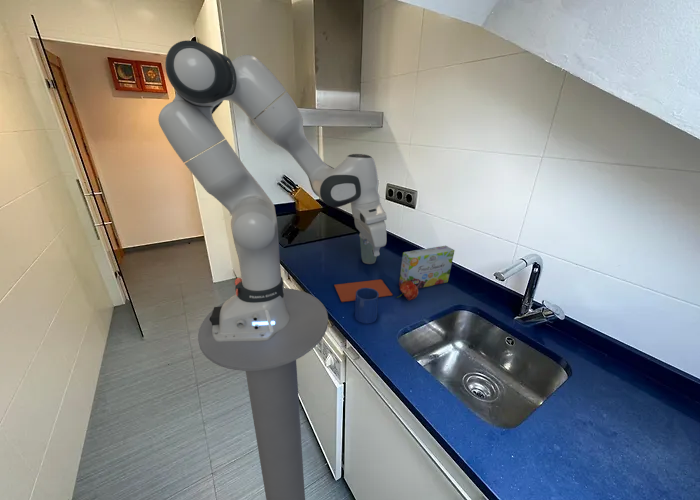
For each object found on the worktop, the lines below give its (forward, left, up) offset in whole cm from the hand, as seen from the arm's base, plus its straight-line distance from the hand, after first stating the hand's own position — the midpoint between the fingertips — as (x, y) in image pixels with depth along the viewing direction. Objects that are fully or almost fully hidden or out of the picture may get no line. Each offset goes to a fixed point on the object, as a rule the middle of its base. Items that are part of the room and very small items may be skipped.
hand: (371, 249), depth 93 cm
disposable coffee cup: (+12, +34, -22) cm, 43 cm away
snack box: (+27, +9, -22) cm, 36 cm away
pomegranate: (+16, +1, -22) cm, 27 cm away
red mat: (+1, +10, -22) cm, 24 cm away
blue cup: (-3, -6, -22) cm, 23 cm away
